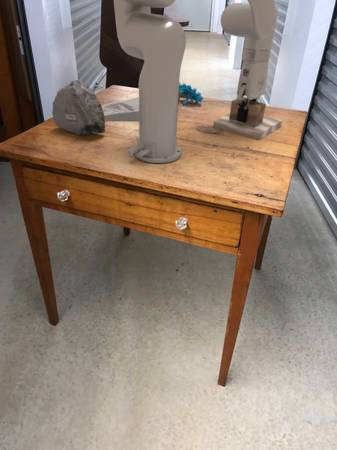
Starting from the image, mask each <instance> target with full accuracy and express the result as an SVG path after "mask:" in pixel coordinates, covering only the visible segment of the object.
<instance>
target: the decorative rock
mask: <svg viewBox="0 0 337 450" xmlns="http://www.w3.org/2000/svg"><path fill="white" fill-rule="evenodd" d="M51 114H52V120H53V123H54V124H55V125H56V127H59V128H61V129H64V130H65V131H68V132H70V133H73V134H75V135H77V136H78V135H80V136H83V135H84V136H86V135H89V134H91V133H95V134H103V133H105V132H106V121H105V120H104V111H103V109H102V104H101V102H100V101H99V99H98V98H97V95H96V93H95V92H94V91H93V90H92V88H90V86H89V85H88V84H87V83H85V82H83V81H81V80H80V79H79V80H77V79H75V80H72V81H70V83H69V84H66V85H65V86H63V87H62V88H60V89H58V91H57V92H56V96H55V97H54V100H53V102H52V113H51Z"/></svg>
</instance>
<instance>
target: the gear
mask: <svg viewBox="0 0 337 450" xmlns="http://www.w3.org/2000/svg"><path fill="white" fill-rule="evenodd" d="M179 89H180V90H179V100H181V99H185V100H184V101H183V103H182V105H183V106H186V105H187V103H188V101H189V100H190V101H191V102H195V103H196V104H197V103H201V102H202V101H203V99H204V97H203V96H202V93H201V92H199V91H198V92H197V90H198V89H197V88H194V87H193V88H192V85H190V84H186V83H182V84H181V83H180V88H179Z"/></svg>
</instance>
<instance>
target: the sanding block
mask: <svg viewBox="0 0 337 450" xmlns="http://www.w3.org/2000/svg"><path fill="white" fill-rule="evenodd" d="M243 101H245V104H246V100H244V99H243ZM266 105H267V104H266V103H263V102H261V101H260V102H259V101H258V102H255V101H251V100H250V101H249V105H248V108H247V109H249V110H248V116H247V122H241V121H237V113H238V102H237V101H236V99H234V100H232V101H231V105H230V110H229V114H230V117H229V121H233V122H236V123H240V124H244V125H248V126H251V127H257V126H259V125H260V124H262V122H263V117H264V116H265V110H266Z"/></svg>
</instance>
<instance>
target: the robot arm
mask: <svg viewBox="0 0 337 450" xmlns="http://www.w3.org/2000/svg"><path fill="white" fill-rule="evenodd" d="M175 2H176V0H113V6H114V7H113V8H114V16H115V17H114V19H115V27H116V34H117V35H116V36H117V39H118V43H119V44H120V45H119V46H120V47H121V49H122V50H123V52H125V54H127V55H129V56H131V57H134V58H136V59H140V60H143V65H142V69H141V72H140V74H139V79H138V97H139V122H138V124H139V125H138V132H139V134H138V137H139V138H138V139H136V144H135V146H132V147H130V148H128V149H127V151H126V153H127V155H128V157H133V156H135V157H136V158H137V159H139V160H140V161H142V162H147V163H151V164H166V163H171V162H174V161H176V160H178V159H180V158H181V156H182V149H181V147H180V146H179V145H178V144H177V128H178V113H179V112H178V111H179V110H178V109H179V104H178V102H179V101H178V95H179V83H180V79H181V78H180V76H181V68H182V63H183V59H184V54H185V51H186V45H187V44H186V42H187V38H186V33H185V29H184V28H183V26H182V25H181V23H180V22H178V21H177V20H176V19H175V18H172V17H170V16H166V15H162V14H155V13H152V12H151V9H152V8H155V9H157V8H158V9H164V8H167V7H170V6H171V5H173V4H174V3H175ZM247 2H248V3H246V2H244V3H243V2H234V3H230V4H229V5H227V6H226V7H225V8H224V10H223V11H222V12H221V15H220V26H221V29H222V30H223V31H224V32H225V33H226V34H228V35H230V36H234V37H239V38H244V44H243V51H242V57H241V60H242V61H241V62H242V65H241V69H240V72H239V77H238V83H237V89H236V90H237V91H236V96H237V97H236V99H235V100H236V101H237V102H238V113H237V121H241V122H247V116H248V110H249V109H247V108H248V105H249V101H250V100H251V101H255V102H259V98H261V96H264V94H265V92H266V85H267V82H268V81H267V80H268V72H269V71H268V70H269V62H270V57H271V52H272V46H273V40H274V36H275V30H276V24H277V19H278V13H279V11H278V7H277V6H276V3H275V0H247ZM243 99H244V100H246V104H245V101H243Z"/></svg>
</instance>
